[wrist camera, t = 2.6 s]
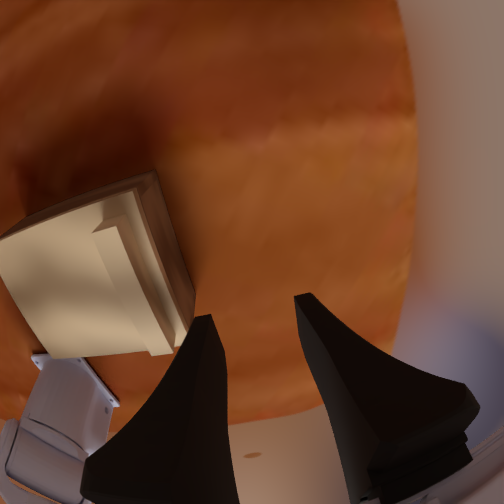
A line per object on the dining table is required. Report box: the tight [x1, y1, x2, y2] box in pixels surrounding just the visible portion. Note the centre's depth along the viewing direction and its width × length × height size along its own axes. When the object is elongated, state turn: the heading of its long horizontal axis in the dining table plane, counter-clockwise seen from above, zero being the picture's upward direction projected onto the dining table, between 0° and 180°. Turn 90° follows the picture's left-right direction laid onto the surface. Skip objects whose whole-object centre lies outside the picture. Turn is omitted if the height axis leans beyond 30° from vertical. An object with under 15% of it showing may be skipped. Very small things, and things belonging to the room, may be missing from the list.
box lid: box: [0, 188, 189, 359], centre depth 15 cm, size 10×12×2 cm
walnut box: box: [0, 169, 196, 328], centre depth 18 cm, size 10×12×5 cm
